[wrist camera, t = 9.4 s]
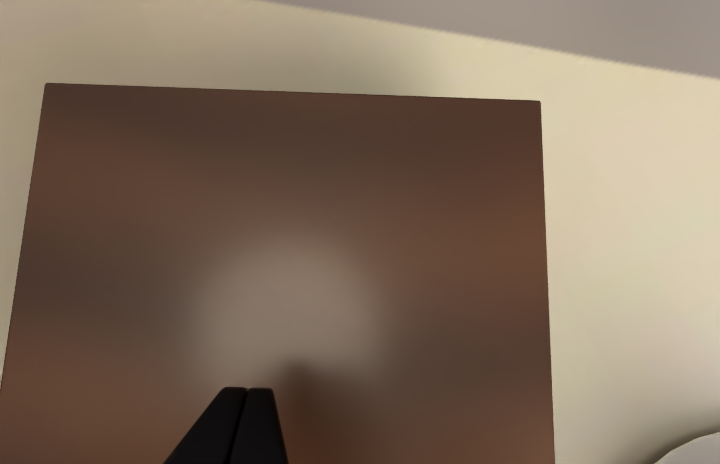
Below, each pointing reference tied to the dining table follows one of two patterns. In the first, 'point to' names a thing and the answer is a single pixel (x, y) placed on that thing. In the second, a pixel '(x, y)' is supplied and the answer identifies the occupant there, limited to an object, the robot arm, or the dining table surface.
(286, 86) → the dining table surface
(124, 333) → the lid
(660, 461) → the pudding
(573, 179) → the dining table surface
